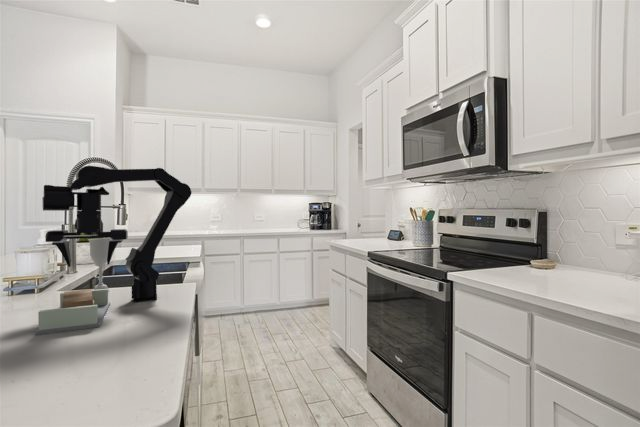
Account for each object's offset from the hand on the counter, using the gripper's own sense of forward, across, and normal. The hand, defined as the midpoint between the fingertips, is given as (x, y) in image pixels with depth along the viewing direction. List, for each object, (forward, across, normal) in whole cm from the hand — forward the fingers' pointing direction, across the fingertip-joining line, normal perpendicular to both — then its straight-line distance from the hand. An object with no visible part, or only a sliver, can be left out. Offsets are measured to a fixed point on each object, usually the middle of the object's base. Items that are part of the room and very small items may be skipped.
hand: (89, 265), depth 96 cm
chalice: (+12, 0, -20) cm, 23 cm away
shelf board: (+9, +1, +10) cm, 14 cm away
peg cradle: (+12, +1, +10) cm, 16 cm away
